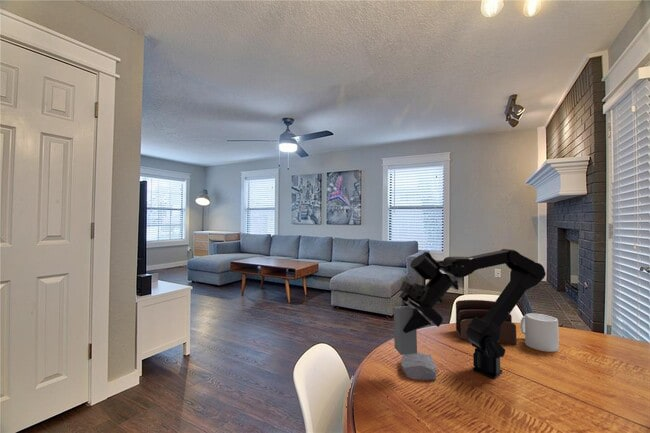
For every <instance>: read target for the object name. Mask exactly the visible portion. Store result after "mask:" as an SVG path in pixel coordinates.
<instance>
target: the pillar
mask: <svg viewBox="0 0 650 433" xmlns="http://www.w3.org/2000/svg"><path fill="white" fill-rule="evenodd" d="M412 316H413V308H411V307H410V306H403V305H402V306H400V305H399V306H393V331H394V332H393V336H394V341H393V342H394V349H395V350H396V351H397V353H398V354H400V356H403V355H405V354H417V353H418V340H417V335H418V334H417V329H415V330H413V331H410V332H408V333H405V332H404V331H403V329H404V328H405V326H406V324H407V323H408V322H409V320H410V319H411V317H412Z"/></svg>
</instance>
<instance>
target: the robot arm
mask: <svg viewBox="0 0 650 433" xmlns="http://www.w3.org/2000/svg"><path fill="white" fill-rule="evenodd" d="M409 265H410V268H411V269H413V271H414V272H415V273H417V275H418V276H419V277H420V278H422V280H423V281H426V280H427V283H425V285H424V284H419V283H417V282H414V283H413V284H411V283H409V282H407V281H405V280H403V281H402V283H401V286H400V288H399V291H401V294H400V295H399V296H398V297H399V298H400V299H401V303H402V306H410V307H411V308H413V316H412V317H411V319H410V320H409V322H408V323H407V324H406V326H405V328H404V329H403V331H404V332H405V333H408V332H410V331H413V330H415V329H416V330H418V329H420V328H424V327H426V326H431V325H432V324H433V325H434V326H436V327H437V328H439V327H440V326H441V324H442V323H444V322H443V316H442V315H441V314H439V312H437V310H435V309H434V307H435V306H436V305H437V303H439V304H442V302H443V300H442V298H443V297H444V295H445V294H446V293H447V292H448V291H449V290H450V288H452V289H454V290H457V291H458V290H459V282H458V280H456V279H452V277H455V278H461V279H462V278H464V277H467V276H469V275H471V274H473V273H474V272H475V271H478V270H481V269H487V268H492V267H495V266H499V265H505V266H506V267H507V268H509V269H510V273H509V281H508V284H507V285H506V286H505V287H504V289H503V290H502V291H501V293H500V294H499V296H498V297H497V299H495V303H494V304H493V305H492V307H491V308H490V310H489V311H488V312H487V314H486V315H485V316H484V317H482V318H480V319H479V318H477V317H474V318H473V320H472V322H471V323H470V324H469V325H468V326H467V327H469V328H468V329H467V331H466V333H467V338H468V339H469V340H468V341H469V342H470V343H471V346H472V347H474V352H473V353H472V354H473V355H472V358H473V359H472V361H473V364H472V365H473V368H472V371H473V372H476V373H479V374H482V375H483V376H487V377H488V378H489V377H490V378H492V379H496V378H497V377H499V376H500V375H501V374H502V373H503V369H501V358H504V357H505V354H506V349H505V348H504V347H503V346H502V345H501V343H498V340H499V338H500V327H501V325H502V324H503V322H504V321H505V320H506V318H507V317H508V315H509V314H511V312H512V311H513V310H514V308H515V307H516V305H518V303H519V301H520V300H521V299H522V298H523V296H524V294H525V293H526V292H527V291H528V290H531V289H533V288H534V287H536V286H537V285H539V284H540V283H541V282H542V281H543V280H544V278H545V277H546V274H547V273H546V271H545V270H546V269H545V267H544V266H543V265H542V264H541V263H539V262H536V261H534V260H533V259H531V258H529V257H526V256H524V255H523V254H521V253H520V252H518V251H517V250H515V249H509V248H502V249H500V250H496V251H491V252H486V253H482V254H481V253H480V254H476V255H471V256H447V257H445V258H444V259H443V260H440V261H437V260H435V259H434V257H432V254H430V253H429V252H428V251H424V252H423V253H422V254H420V255H417V256H416V257H415V258H413V259H412V261H411V262H410V264H409ZM442 272H444V273H442ZM450 276H451V277H450Z"/></svg>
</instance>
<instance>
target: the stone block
mask: <svg viewBox="0 0 650 433" xmlns="http://www.w3.org/2000/svg"><path fill="white" fill-rule="evenodd" d="M401 356H402V358H401V364H400V367H401V369H402V373H403V374H404V375H405V376H406V377H407V378H408V379H412V380H422V381H423V380H424V381H425V380H426V381H436V380H437V366H436V364H435V362H434V361H433V359H432V358H433V357H432V355H431V354H430V353H429V354H426V353H423V352H422V353H421V352H417V354H405V355H401Z"/></svg>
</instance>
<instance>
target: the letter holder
mask: <svg viewBox="0 0 650 433" xmlns="http://www.w3.org/2000/svg"><path fill="white" fill-rule="evenodd" d="M495 301H496V300H495ZM495 301H493V300H483V299H464V300H463V299H462V300H457V301H456V303H455V332H456V334H458V336H459V338H460V340H463V341H465V340H467V341H469V339H468V338H467V333H466V331H467V329H468V328H469V327H467V326H468V325H469V324H470V323H471V322H472V320H473V318H474V317H477V318H479V319H480V318H482V317H484V316H485V315H486V314H487V312H488V311H489V310H490V308H491V307H492V305H493V304H494V303H495ZM512 317H513V316H512V314H511V313H510V314H509V315H508V317H507V318H506V320H505V321H504V322H503V324H502V325H501V327H500V338H499V340H498V343H499V344H507V345H509V344H510V345H518V344H517V343H518V341H517V340H518V339H517V325H516V324H515V323H514V322H513V320H512V319H513V318H512Z"/></svg>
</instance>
